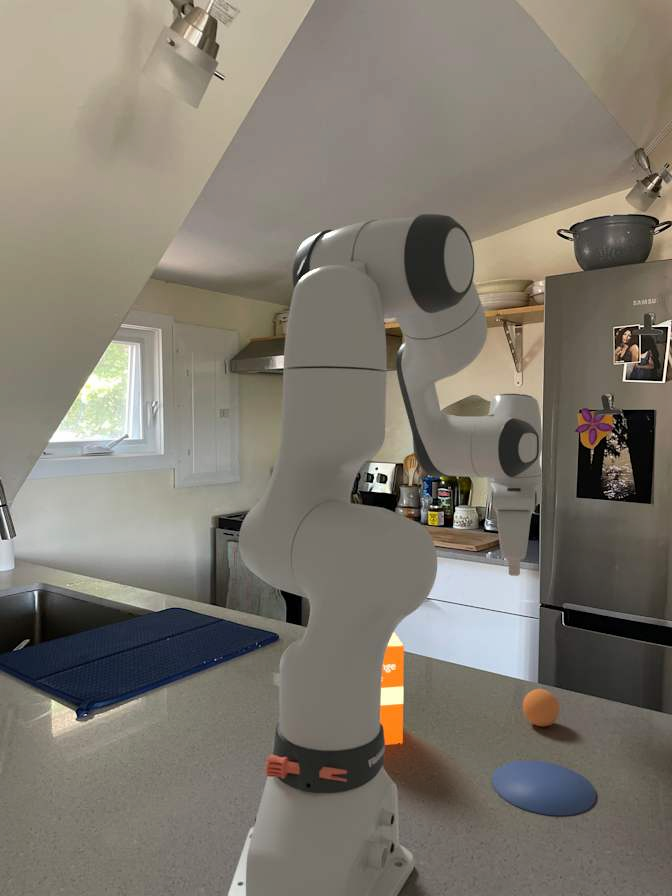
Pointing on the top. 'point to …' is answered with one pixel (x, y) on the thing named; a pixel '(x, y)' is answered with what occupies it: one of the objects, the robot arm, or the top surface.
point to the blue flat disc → (544, 788)
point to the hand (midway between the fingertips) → (514, 573)
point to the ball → (541, 707)
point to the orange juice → (392, 692)
